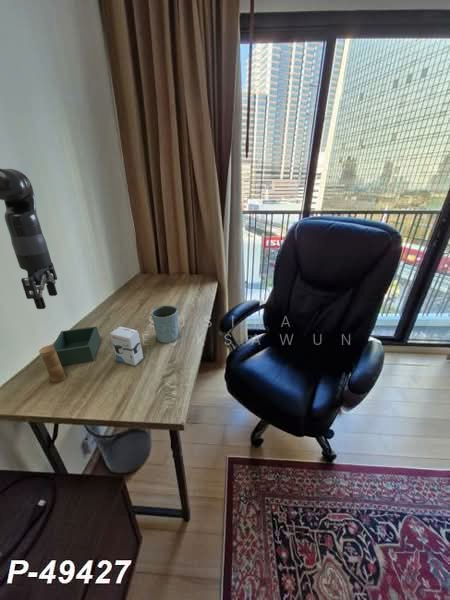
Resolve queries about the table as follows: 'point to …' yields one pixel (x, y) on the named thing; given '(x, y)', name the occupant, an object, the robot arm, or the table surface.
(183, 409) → the table surface
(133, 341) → the ink box
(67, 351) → the bin
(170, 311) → the blue grey cup
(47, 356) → the wooden cylinder
